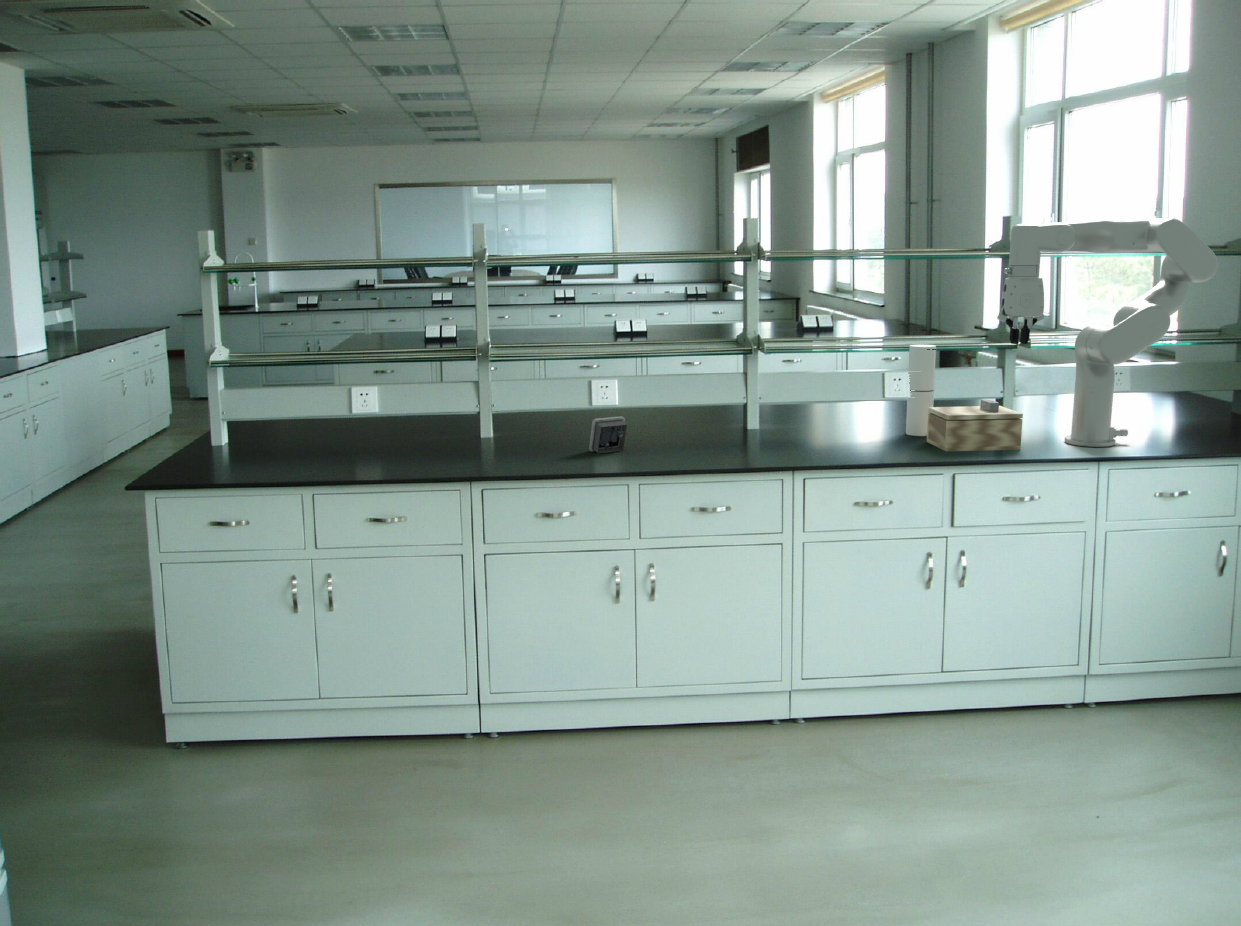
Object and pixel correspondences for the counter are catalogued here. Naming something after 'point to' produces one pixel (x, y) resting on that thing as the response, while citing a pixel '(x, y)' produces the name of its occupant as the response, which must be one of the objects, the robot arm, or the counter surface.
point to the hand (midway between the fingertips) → (1019, 343)
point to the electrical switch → (608, 434)
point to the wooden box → (974, 434)
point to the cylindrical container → (920, 388)
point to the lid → (976, 411)
